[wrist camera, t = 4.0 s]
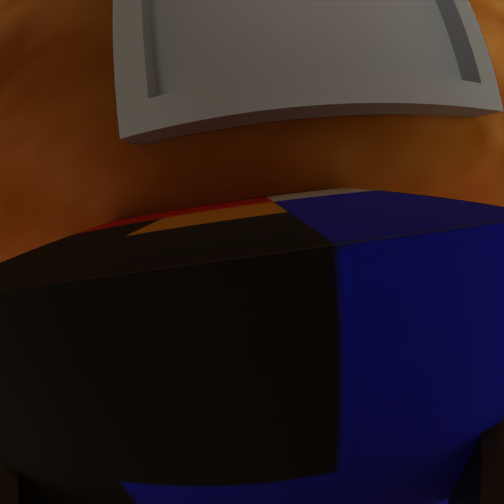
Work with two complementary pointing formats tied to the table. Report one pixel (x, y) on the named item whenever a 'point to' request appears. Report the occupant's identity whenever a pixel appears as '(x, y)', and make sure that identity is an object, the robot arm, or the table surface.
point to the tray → (293, 62)
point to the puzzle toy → (257, 352)
